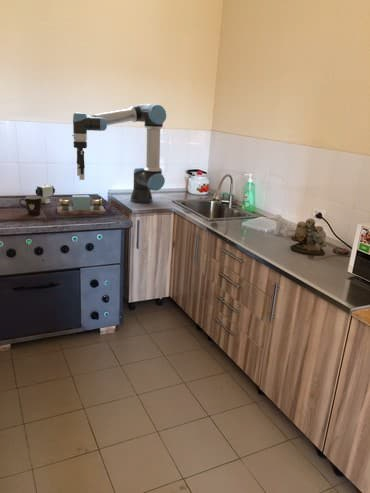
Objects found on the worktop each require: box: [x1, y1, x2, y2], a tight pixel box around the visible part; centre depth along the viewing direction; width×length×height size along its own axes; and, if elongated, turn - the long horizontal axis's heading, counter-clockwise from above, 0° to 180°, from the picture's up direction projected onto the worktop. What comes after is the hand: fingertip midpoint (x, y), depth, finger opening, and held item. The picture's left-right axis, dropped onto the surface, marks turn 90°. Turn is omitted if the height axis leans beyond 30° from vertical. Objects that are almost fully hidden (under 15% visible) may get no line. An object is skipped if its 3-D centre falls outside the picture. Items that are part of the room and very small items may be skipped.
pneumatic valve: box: [35, 183, 56, 205], centre depth 269 cm, size 6×12×12 cm, turn 146°
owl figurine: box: [289, 217, 327, 257], centre depth 210 cm, size 18×12×17 cm, turn 78°
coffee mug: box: [18, 195, 42, 217], centre depth 242 cm, size 12×9×10 cm
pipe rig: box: [58, 198, 103, 210], centre depth 255 cm, size 25×4×6 cm, turn 109°
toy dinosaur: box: [265, 213, 297, 237], centre depth 235 cm, size 7×24×11 cm, turn 65°
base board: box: [55, 205, 107, 216], centre depth 256 cm, size 28×13×2 cm, turn 109°
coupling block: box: [70, 194, 91, 210], centre depth 255 cm, size 11×5×8 cm, turn 109°
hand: (80, 177), depth 250 cm, fingers open, 13 cm apart
